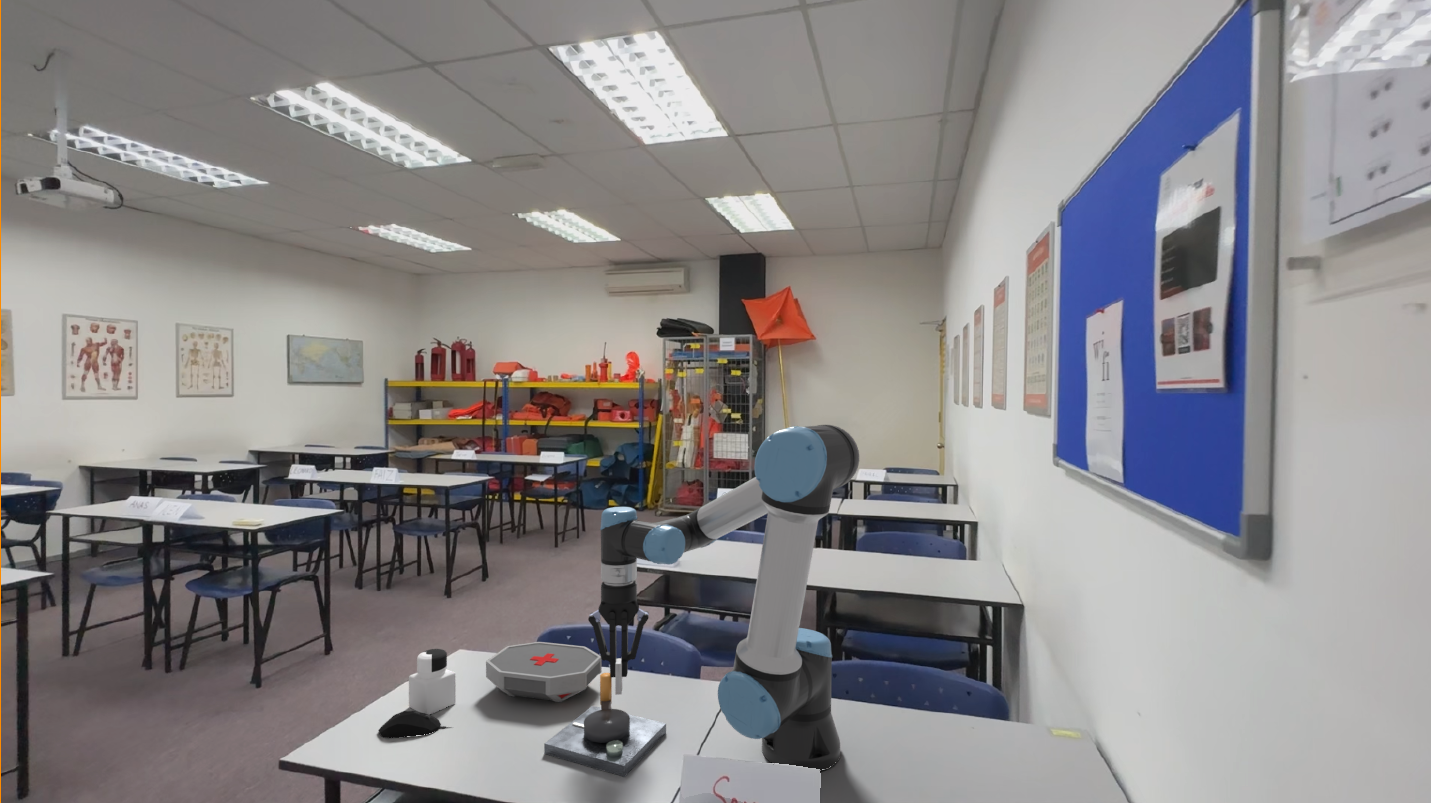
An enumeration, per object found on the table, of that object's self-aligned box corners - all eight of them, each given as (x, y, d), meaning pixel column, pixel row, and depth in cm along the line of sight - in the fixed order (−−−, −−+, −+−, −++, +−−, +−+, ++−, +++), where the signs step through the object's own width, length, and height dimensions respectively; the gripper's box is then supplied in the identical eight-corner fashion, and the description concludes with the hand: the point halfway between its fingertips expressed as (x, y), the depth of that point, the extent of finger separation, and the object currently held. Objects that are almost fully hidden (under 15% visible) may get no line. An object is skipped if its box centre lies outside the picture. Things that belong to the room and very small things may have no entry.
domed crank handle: (631, 739, 122) (631, 703, 121) (583, 744, 120) (583, 708, 120) (626, 703, 136) (626, 670, 136) (584, 707, 134) (584, 674, 134)
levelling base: (666, 732, 129) (666, 716, 129) (624, 776, 114) (624, 758, 114) (592, 714, 136) (592, 699, 136) (544, 753, 121) (544, 736, 121)
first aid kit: (474, 701, 142) (576, 715, 136) (474, 668, 142) (576, 681, 136) (516, 668, 159) (609, 679, 153) (516, 639, 159) (608, 649, 153)
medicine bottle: (438, 694, 145) (438, 643, 145) (456, 703, 141) (455, 650, 141) (408, 707, 139) (407, 653, 139) (425, 717, 135) (425, 661, 135)
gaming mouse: (449, 737, 128) (448, 718, 128) (373, 741, 127) (373, 721, 127) (459, 721, 134) (459, 702, 134) (387, 724, 133) (386, 705, 133)
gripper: (586, 587, 129) (586, 701, 130) (648, 585, 130) (648, 698, 131) (590, 576, 137) (590, 684, 137) (649, 575, 138) (649, 682, 138)
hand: (618, 691), depth 134 cm, fingers closed
